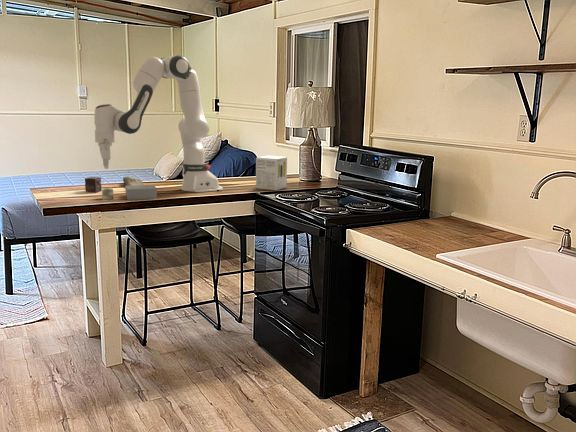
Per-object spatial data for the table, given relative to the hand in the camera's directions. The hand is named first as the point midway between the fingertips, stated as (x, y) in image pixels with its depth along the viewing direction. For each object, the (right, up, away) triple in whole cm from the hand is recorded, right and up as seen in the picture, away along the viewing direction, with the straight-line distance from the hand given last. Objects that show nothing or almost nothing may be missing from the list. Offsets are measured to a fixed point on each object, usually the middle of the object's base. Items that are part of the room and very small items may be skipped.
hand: (105, 167), depth 272 cm
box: (-13, -11, +21) cm, 28 cm away
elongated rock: (+4, -8, +38) cm, 39 cm away
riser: (+15, -14, +9) cm, 22 cm away
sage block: (0, -15, +3) cm, 16 cm away
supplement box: (+79, -8, +45) cm, 91 cm away
